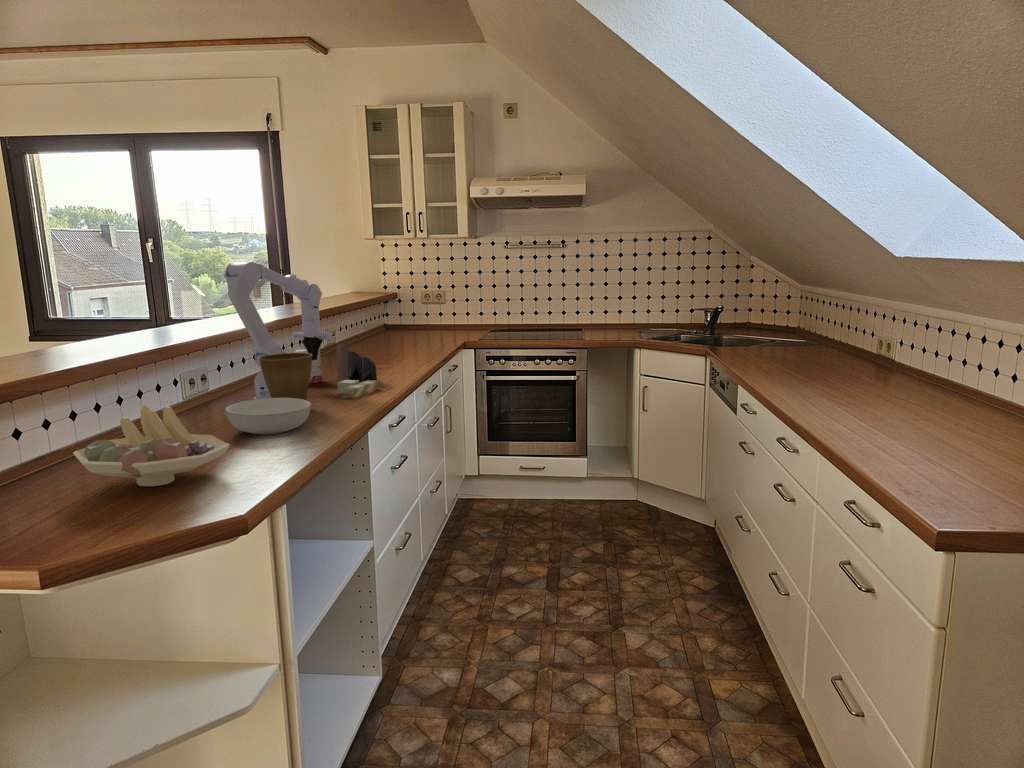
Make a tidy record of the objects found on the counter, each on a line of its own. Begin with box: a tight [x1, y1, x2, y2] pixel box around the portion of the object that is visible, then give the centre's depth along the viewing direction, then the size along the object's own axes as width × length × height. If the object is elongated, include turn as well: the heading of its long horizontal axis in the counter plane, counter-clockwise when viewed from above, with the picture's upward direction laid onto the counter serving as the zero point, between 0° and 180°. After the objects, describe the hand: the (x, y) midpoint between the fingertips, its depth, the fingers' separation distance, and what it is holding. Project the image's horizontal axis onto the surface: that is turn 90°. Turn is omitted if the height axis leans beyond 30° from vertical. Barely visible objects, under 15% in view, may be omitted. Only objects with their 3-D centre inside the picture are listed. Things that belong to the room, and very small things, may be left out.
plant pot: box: [259, 352, 312, 400], centre depth 208 cm, size 15×15×16 cm
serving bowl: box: [225, 398, 312, 436], centre depth 183 cm, size 21×21×7 cm
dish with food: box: [72, 404, 231, 487], centre depth 142 cm, size 28×28×14 cm
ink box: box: [293, 348, 323, 384], centre depth 250 cm, size 9×5×12 cm, turn 103°
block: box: [337, 380, 359, 395], centre depth 231 cm, size 5×5×4 cm
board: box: [341, 379, 380, 399], centre depth 230 cm, size 16×4×3 cm, turn 159°
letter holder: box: [336, 343, 378, 383], centre depth 248 cm, size 10×20×14 cm, turn 25°
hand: (313, 359), depth 238 cm, fingers closed
